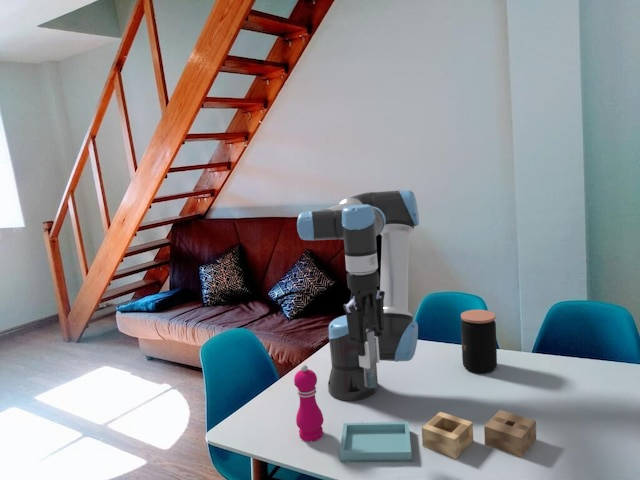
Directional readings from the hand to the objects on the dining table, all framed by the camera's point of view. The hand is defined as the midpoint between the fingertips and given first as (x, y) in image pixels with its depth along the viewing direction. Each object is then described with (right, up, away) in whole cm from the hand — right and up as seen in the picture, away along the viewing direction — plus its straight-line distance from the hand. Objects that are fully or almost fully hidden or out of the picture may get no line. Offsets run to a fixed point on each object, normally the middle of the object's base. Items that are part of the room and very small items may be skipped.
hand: (369, 363), depth 121 cm
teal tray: (+2, -22, +4) cm, 22 cm away
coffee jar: (+40, -12, +41) cm, 58 cm away
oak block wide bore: (+20, -20, +2) cm, 28 cm away
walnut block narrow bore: (+35, -19, 0) cm, 40 cm away
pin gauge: (+1, -5, +1) cm, 6 cm away
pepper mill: (-14, -22, +11) cm, 29 cm away
